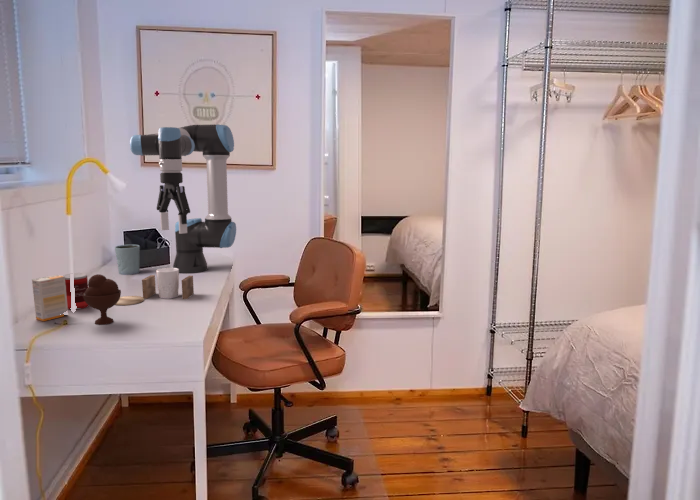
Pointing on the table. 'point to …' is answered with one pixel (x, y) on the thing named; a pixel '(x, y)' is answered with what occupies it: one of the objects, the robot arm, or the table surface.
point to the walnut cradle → (150, 288)
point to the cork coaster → (130, 300)
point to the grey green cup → (128, 259)
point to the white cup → (168, 282)
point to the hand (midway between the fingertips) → (173, 231)
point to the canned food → (77, 289)
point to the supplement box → (49, 297)
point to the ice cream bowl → (102, 296)
